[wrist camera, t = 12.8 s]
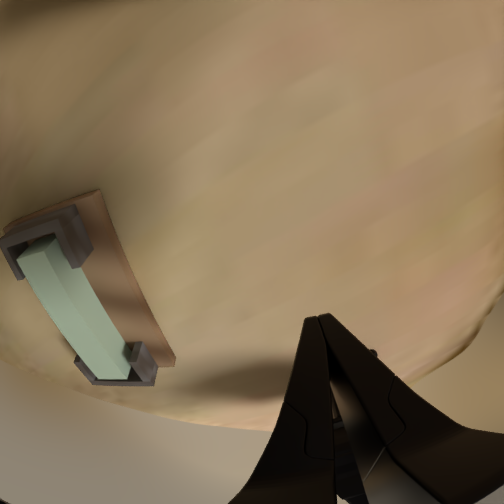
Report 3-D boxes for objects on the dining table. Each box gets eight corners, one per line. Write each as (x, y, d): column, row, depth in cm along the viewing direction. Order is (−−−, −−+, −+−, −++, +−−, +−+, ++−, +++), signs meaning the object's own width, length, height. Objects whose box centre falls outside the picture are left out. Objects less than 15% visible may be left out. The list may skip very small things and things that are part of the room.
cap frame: (176, 357, 28) (170, 386, 24) (91, 360, 28) (82, 385, 25) (99, 189, 19) (75, 209, 15) (10, 222, 19) (-14, 243, 16)
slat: (134, 355, 26) (127, 379, 23) (106, 356, 26) (98, 379, 24) (63, 230, 19) (43, 250, 16) (35, 240, 19) (16, 259, 16)
